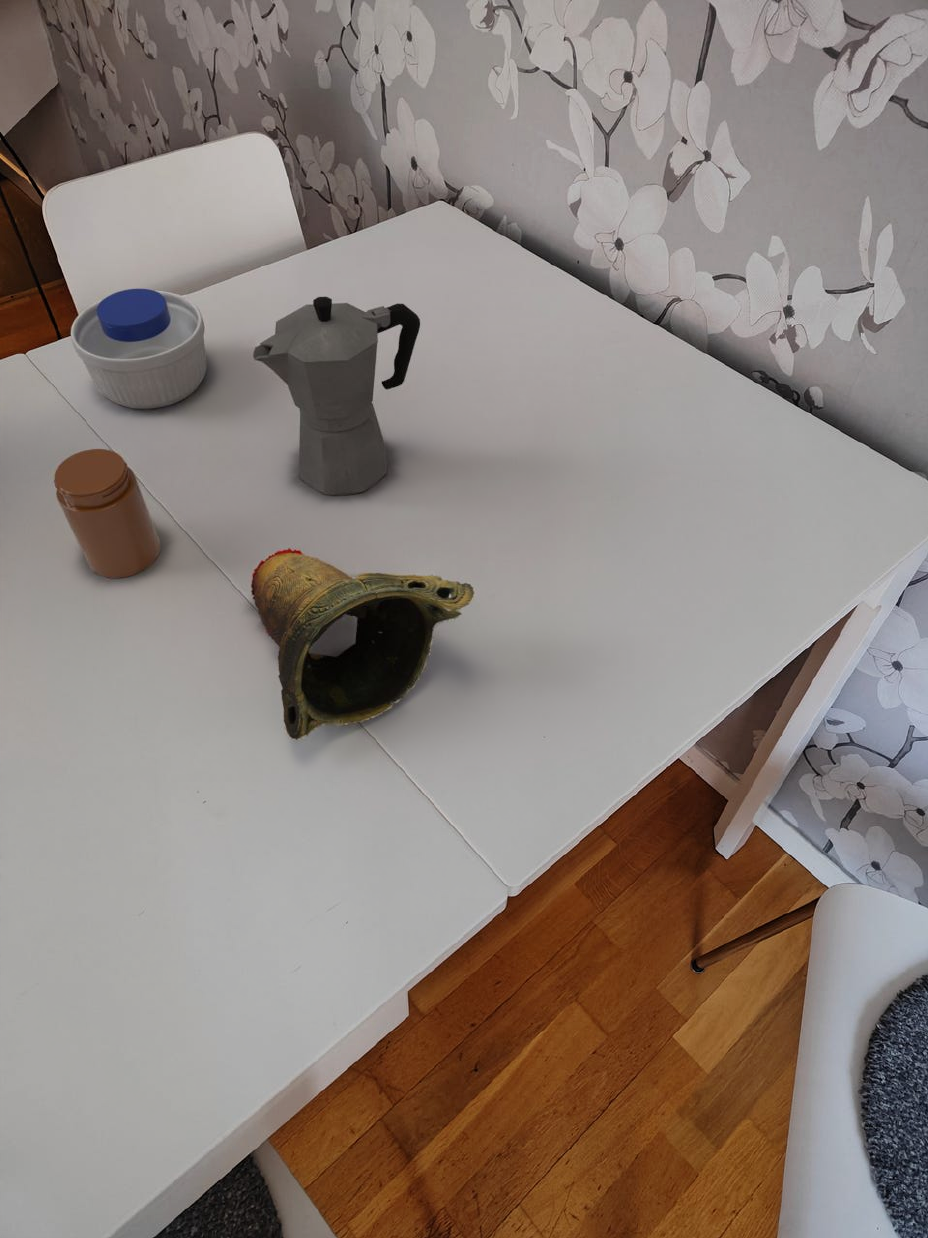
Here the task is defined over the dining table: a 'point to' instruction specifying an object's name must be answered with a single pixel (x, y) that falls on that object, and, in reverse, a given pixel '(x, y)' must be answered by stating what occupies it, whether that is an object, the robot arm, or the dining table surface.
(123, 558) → the jar
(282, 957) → the dining table surface
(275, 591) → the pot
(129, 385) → the ramekin
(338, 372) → the coffeepot
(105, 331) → the lid
